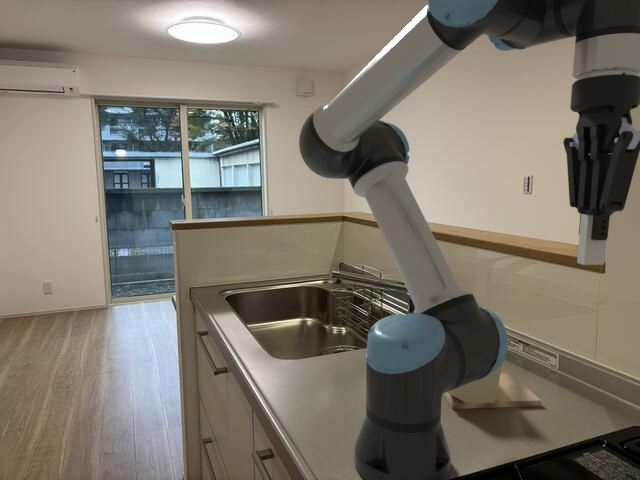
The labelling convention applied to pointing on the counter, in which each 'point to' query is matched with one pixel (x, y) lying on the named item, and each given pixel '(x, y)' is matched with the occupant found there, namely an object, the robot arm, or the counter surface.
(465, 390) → the milk carton
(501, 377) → the board
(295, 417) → the counter surface
